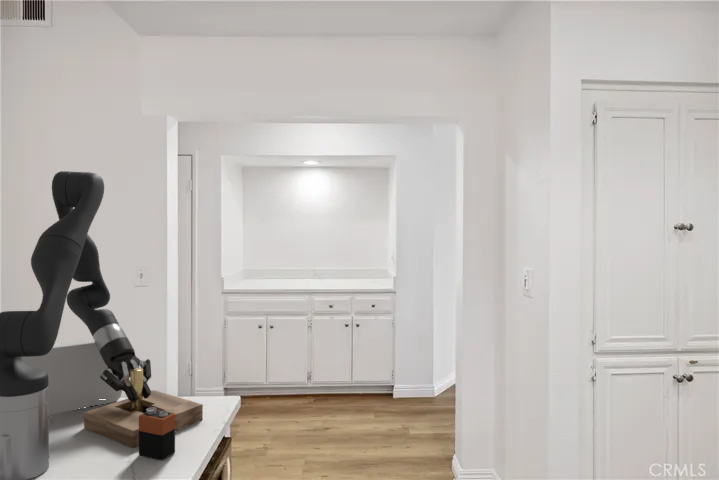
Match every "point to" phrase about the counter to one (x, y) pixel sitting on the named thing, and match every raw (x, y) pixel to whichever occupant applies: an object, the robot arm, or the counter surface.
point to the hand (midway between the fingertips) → (141, 398)
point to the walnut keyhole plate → (125, 424)
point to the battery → (156, 434)
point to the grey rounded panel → (74, 376)
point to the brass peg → (137, 389)
